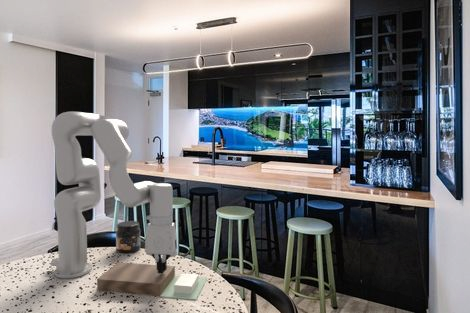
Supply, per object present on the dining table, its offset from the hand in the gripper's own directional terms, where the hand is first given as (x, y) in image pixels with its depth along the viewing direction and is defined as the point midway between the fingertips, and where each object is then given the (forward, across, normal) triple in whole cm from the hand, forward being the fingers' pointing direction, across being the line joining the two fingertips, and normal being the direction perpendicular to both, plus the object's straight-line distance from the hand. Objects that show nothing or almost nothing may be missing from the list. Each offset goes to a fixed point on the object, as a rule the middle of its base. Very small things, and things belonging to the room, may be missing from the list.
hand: (161, 271), depth 109 cm
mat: (+5, +8, 0) cm, 10 cm away
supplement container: (+5, -27, +30) cm, 41 cm away
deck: (+5, -9, 0) cm, 10 cm away
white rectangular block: (+3, +9, 0) cm, 9 cm away
